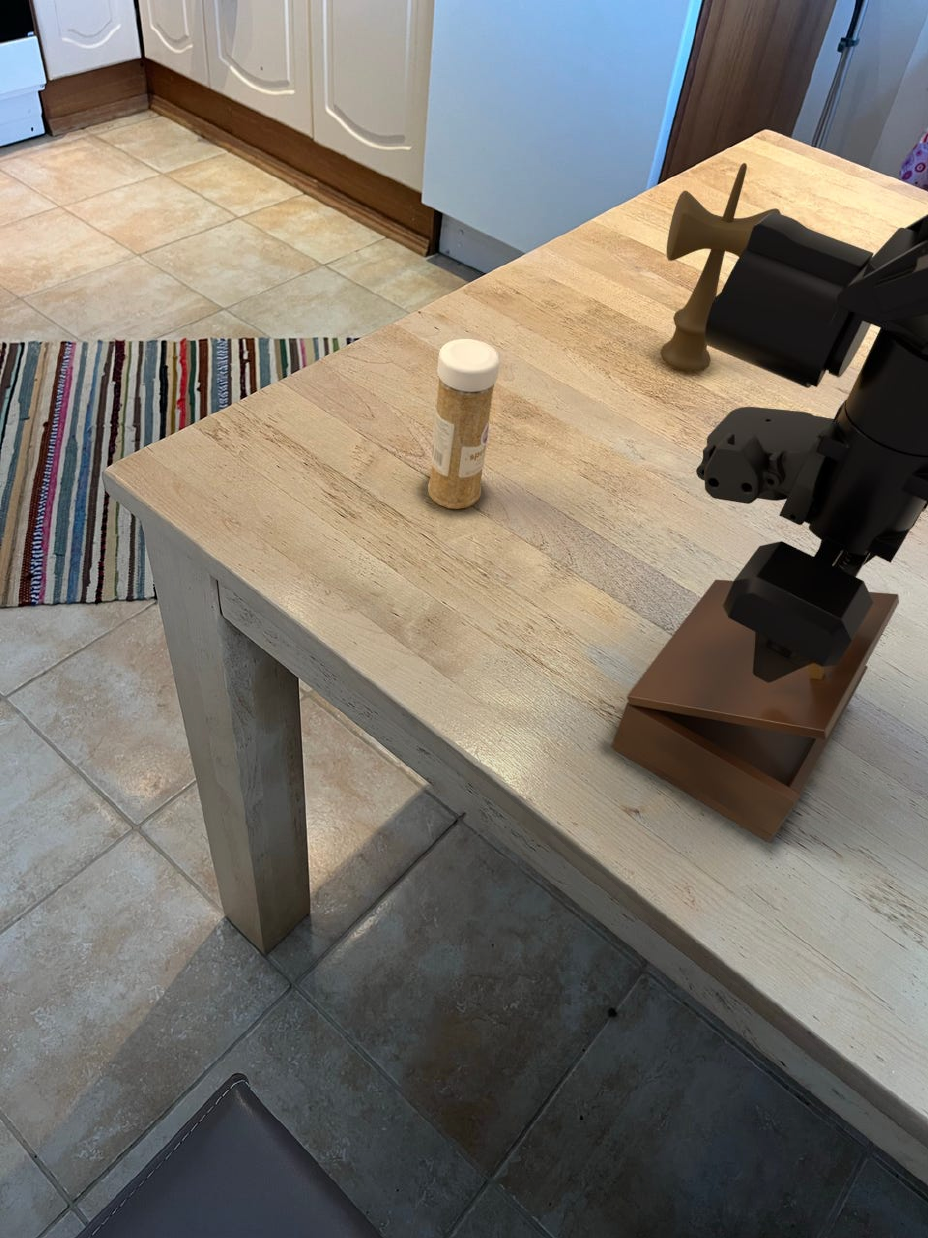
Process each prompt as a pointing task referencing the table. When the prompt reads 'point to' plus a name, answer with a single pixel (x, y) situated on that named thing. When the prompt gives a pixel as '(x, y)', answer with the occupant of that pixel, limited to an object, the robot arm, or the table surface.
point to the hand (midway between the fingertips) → (790, 631)
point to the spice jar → (461, 421)
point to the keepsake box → (724, 762)
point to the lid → (723, 672)
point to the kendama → (689, 235)
